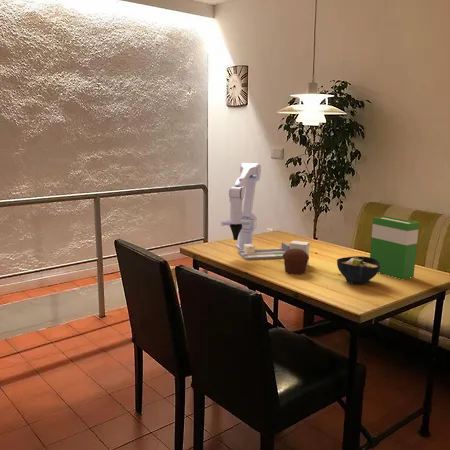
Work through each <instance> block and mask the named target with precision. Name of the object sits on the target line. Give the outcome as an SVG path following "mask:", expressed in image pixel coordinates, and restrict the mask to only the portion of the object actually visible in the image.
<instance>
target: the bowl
mask: <svg viewBox="0 0 450 450" xmlns="http://www.w3.org/2000/svg"><path fill="white" fill-rule="evenodd" d="M336 265H337V268H338V269H337V270H338V271H339V272H340V274H341V275H342V276H343V277H344V278H345V281H346V282H347V283H348V284H352V285H357V286H358V285H359V286H362V285H363V286H364V285H366V284H368V283H369V282H370V281H371V280H372V279H373V278H375V276H377V274H379V273H378V271H379V269H380V263H379V261H377V260H376V259H373V258H370V256H369V257H368V256H363V255H362V256H361V255H360V256H359V255H356V256H347V257H345V256H344V257H341V258H337V260H336Z"/></svg>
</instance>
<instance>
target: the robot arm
mask: <svg viewBox="0 0 450 450" xmlns="http://www.w3.org/2000/svg"><path fill="white" fill-rule="evenodd" d="M239 172H240V176H239V177H237V179H236V180H235V183H234V184H233V186H231V187H230V188H229V190H228V197H229V203H230V206H229V208H230V210H229V220H221V221H220V226H229V228H230V231H231V232H232V236H233V237H232V238H233V241H237V243H236V244H235V246H236V248H238V249H239V250H244V244H252V245H253V244H254V243H253V241H254V240H253V239H254V238H253V236H254V232H255V231H256V229H257V215H255V214H254V213H253V208H254V199H255V193H256V184H257V182H258V181H260V178H261V175H262V174H261V173H262V166H261V164H260V163H259V162H258V163H253V162H252V163H251V162H241V164H240V168H239ZM243 200H244V201H243ZM254 249H256V247H255V248H254Z"/></svg>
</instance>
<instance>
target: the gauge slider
mask: <svg viewBox="0 0 450 450" xmlns="http://www.w3.org/2000/svg"><path fill="white" fill-rule="evenodd" d="M254 248H255V249H256V247H255V245H253V244H244V249H243V250H244V251H243V252H244V253H254Z"/></svg>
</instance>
